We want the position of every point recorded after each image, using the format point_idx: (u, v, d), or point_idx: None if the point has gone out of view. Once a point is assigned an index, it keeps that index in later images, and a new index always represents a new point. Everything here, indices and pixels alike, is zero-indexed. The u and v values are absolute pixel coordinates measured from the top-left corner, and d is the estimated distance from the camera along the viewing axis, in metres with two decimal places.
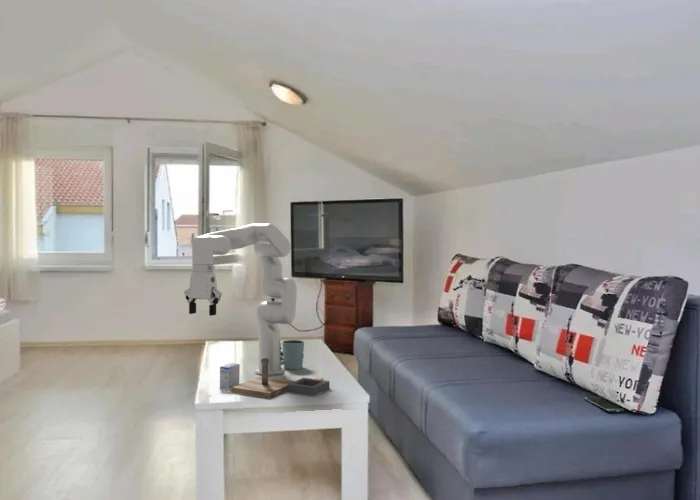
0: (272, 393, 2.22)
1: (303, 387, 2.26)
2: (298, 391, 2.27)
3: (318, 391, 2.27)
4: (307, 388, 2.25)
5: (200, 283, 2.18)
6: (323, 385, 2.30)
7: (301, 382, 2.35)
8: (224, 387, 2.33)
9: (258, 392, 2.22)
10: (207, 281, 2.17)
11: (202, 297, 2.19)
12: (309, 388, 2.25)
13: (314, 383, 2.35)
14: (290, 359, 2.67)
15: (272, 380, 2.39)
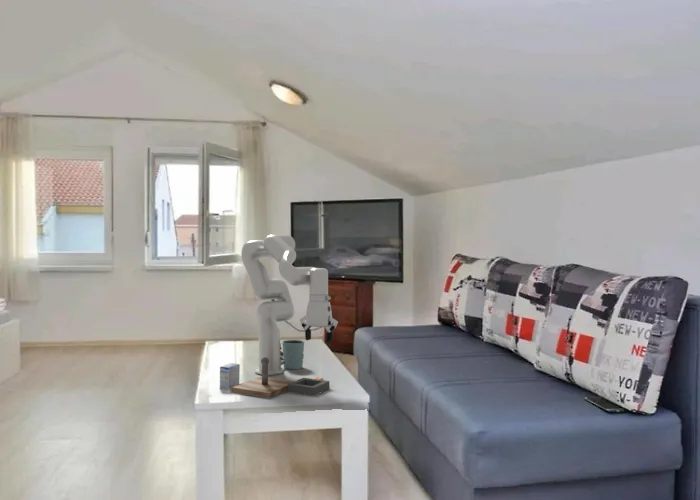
0: (272, 393, 2.22)
1: (303, 387, 2.26)
2: (298, 391, 2.27)
3: (318, 391, 2.27)
4: (307, 388, 2.25)
5: (318, 312, 2.36)
6: (323, 385, 2.30)
7: (301, 382, 2.35)
8: (224, 387, 2.33)
9: (258, 392, 2.22)
10: (324, 310, 2.35)
11: (319, 325, 2.36)
12: (309, 388, 2.25)
13: (314, 383, 2.35)
14: (290, 359, 2.67)
15: (272, 380, 2.39)
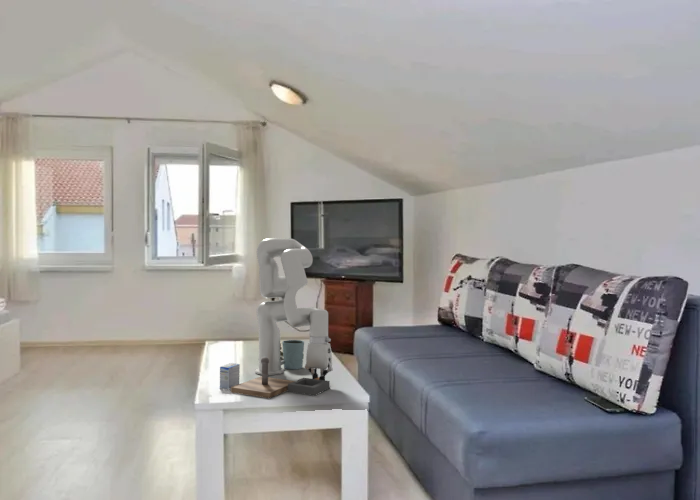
0: (272, 393, 2.22)
1: (303, 387, 2.26)
2: (298, 391, 2.27)
3: (318, 391, 2.27)
4: (307, 388, 2.25)
5: (318, 354, 2.36)
6: (323, 385, 2.30)
7: (301, 382, 2.35)
8: (224, 387, 2.33)
9: (258, 392, 2.22)
10: (324, 352, 2.35)
11: (319, 367, 2.36)
12: (309, 388, 2.25)
13: (314, 383, 2.36)
14: (290, 359, 2.67)
15: (272, 380, 2.39)
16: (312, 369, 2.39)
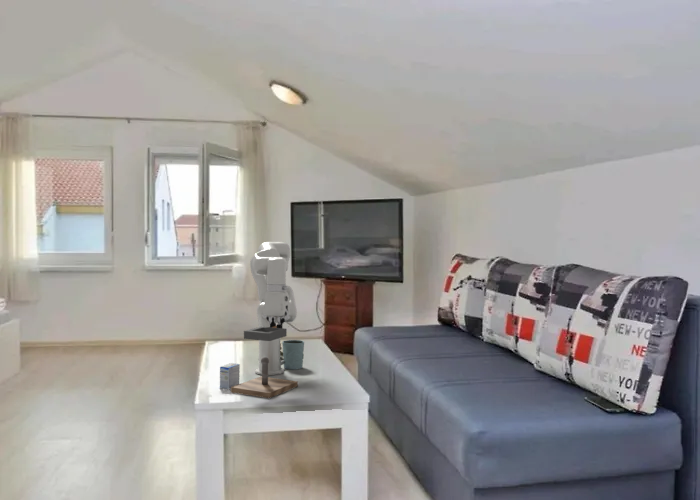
0: (272, 393, 2.22)
1: (259, 333, 2.27)
2: (254, 337, 2.28)
3: (274, 337, 2.28)
4: (262, 334, 2.26)
5: (275, 302, 2.37)
6: (279, 332, 2.31)
7: (258, 330, 2.35)
8: (224, 387, 2.33)
9: (258, 392, 2.22)
10: (281, 300, 2.36)
11: (276, 315, 2.37)
12: (264, 334, 2.26)
13: (271, 331, 2.36)
14: (290, 359, 2.67)
15: (272, 380, 2.39)
16: (270, 317, 2.39)
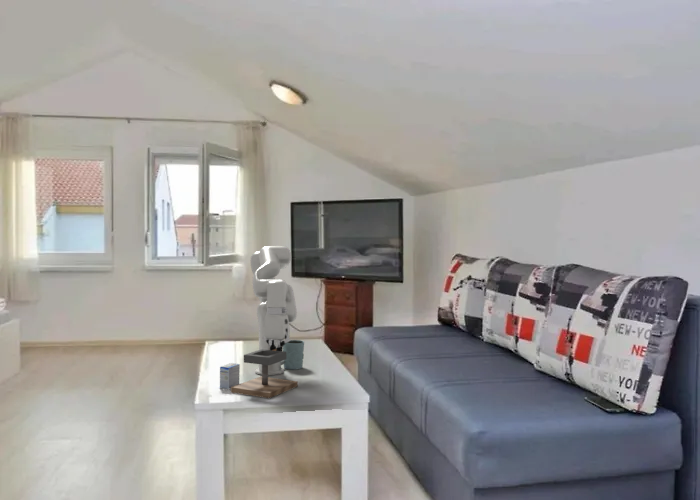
0: (272, 393, 2.22)
1: (259, 357, 2.27)
2: (254, 361, 2.28)
3: (274, 361, 2.27)
4: (262, 358, 2.26)
5: (275, 325, 2.37)
6: (279, 355, 2.31)
7: (258, 353, 2.35)
8: (224, 387, 2.33)
9: (258, 392, 2.22)
10: (281, 323, 2.36)
11: (276, 338, 2.37)
12: (264, 358, 2.25)
13: (271, 354, 2.36)
14: (290, 359, 2.67)
15: (272, 380, 2.39)
16: (269, 340, 2.39)
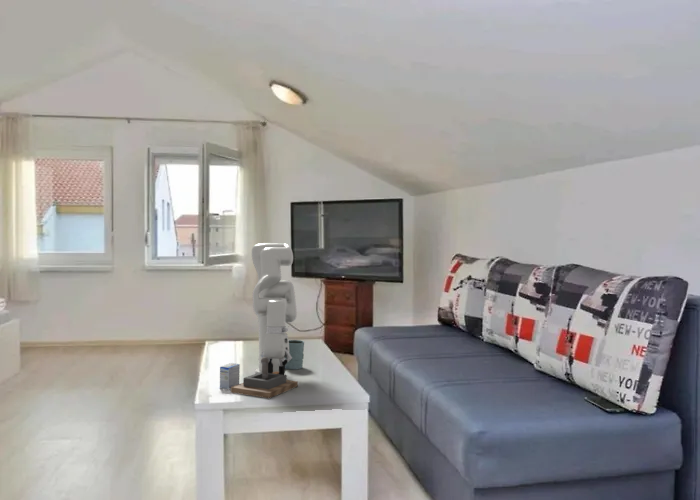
0: (272, 393, 2.22)
1: (258, 381, 2.27)
2: (253, 385, 2.28)
3: (273, 385, 2.28)
4: (262, 382, 2.26)
5: (274, 344, 2.37)
6: (279, 379, 2.31)
7: (258, 376, 2.36)
8: (224, 387, 2.33)
9: (258, 392, 2.22)
10: (281, 342, 2.36)
11: (276, 357, 2.37)
12: (264, 382, 2.26)
13: (271, 377, 2.37)
14: None
15: None
16: (268, 358, 2.40)
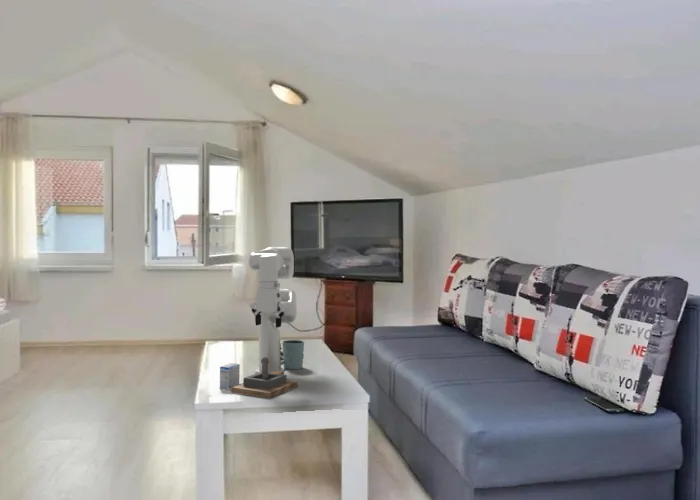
0: (272, 393, 2.22)
1: (258, 381, 2.27)
2: (253, 385, 2.28)
3: (273, 385, 2.28)
4: (262, 382, 2.26)
5: (267, 298, 2.40)
6: (279, 379, 2.31)
7: (258, 376, 2.36)
8: (224, 387, 2.33)
9: (258, 392, 2.22)
10: (273, 296, 2.39)
11: (269, 311, 2.41)
12: (264, 382, 2.26)
13: (271, 377, 2.37)
14: (290, 359, 2.67)
15: None
16: (257, 311, 2.44)
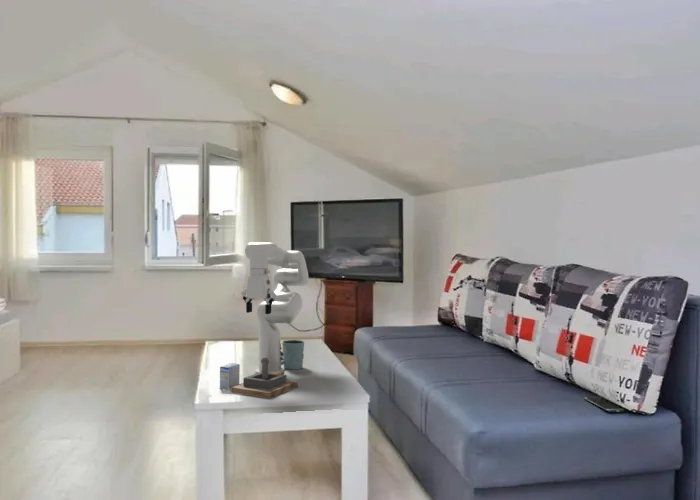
0: (272, 393, 2.22)
1: (258, 381, 2.27)
2: (253, 385, 2.28)
3: (273, 385, 2.28)
4: (262, 382, 2.26)
5: (257, 285, 2.44)
6: (279, 379, 2.31)
7: (258, 376, 2.36)
8: (224, 387, 2.33)
9: (258, 392, 2.22)
10: (263, 283, 2.43)
11: (259, 297, 2.44)
12: (264, 382, 2.26)
13: (271, 377, 2.37)
14: (290, 359, 2.67)
15: None
16: (248, 298, 2.48)
